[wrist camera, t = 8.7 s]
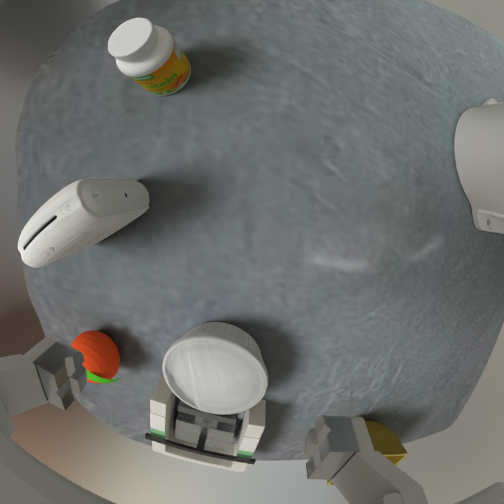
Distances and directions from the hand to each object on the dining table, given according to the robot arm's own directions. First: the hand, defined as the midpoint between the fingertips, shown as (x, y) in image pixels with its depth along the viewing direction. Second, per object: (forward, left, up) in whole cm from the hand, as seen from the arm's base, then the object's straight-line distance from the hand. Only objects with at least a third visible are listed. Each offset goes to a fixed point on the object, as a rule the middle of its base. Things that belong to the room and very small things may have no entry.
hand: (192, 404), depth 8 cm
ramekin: (0, +13, -21) cm, 25 cm away
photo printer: (+15, -1, -21) cm, 26 cm away
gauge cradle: (0, +26, -21) cm, 33 cm away
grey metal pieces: (0, +24, -20) cm, 31 cm away
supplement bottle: (+12, -17, -21) cm, 29 cm away
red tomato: (+15, +17, -21) cm, 31 cm away
